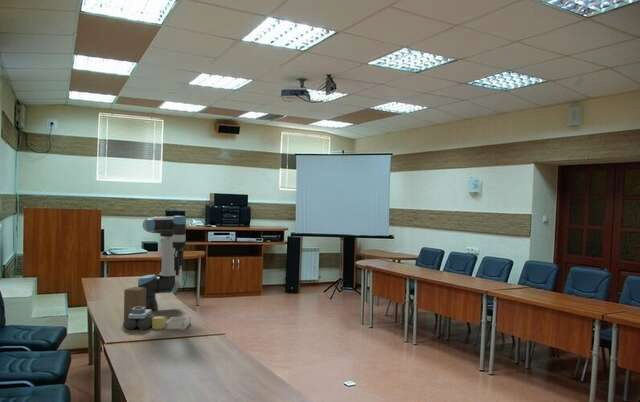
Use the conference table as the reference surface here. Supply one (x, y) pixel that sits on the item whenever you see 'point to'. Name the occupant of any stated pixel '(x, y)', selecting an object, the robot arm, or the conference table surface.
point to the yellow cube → (158, 322)
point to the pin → (178, 283)
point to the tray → (177, 323)
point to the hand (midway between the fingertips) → (178, 279)
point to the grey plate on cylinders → (139, 318)
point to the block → (133, 299)
